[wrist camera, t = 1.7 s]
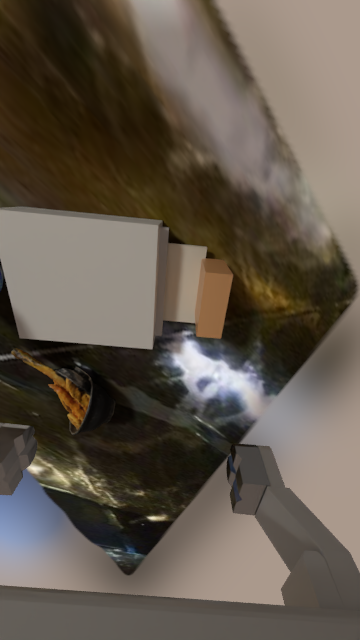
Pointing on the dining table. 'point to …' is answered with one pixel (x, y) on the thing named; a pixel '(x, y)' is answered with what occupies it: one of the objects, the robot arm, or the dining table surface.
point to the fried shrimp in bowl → (76, 395)
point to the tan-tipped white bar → (196, 289)
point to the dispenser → (84, 276)
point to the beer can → (1, 278)
